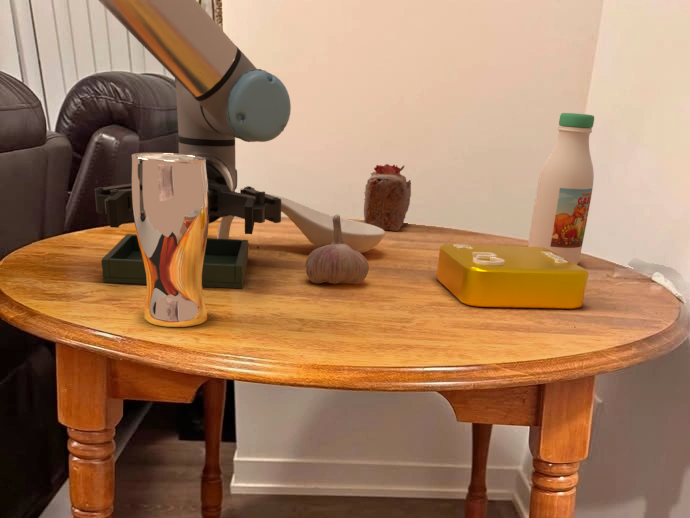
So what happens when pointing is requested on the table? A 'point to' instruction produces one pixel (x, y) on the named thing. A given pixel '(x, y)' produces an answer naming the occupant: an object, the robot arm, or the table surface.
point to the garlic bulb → (336, 261)
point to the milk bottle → (565, 190)
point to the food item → (387, 198)
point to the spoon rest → (321, 227)
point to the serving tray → (218, 269)
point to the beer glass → (172, 234)
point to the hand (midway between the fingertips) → (181, 217)
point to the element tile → (511, 276)
